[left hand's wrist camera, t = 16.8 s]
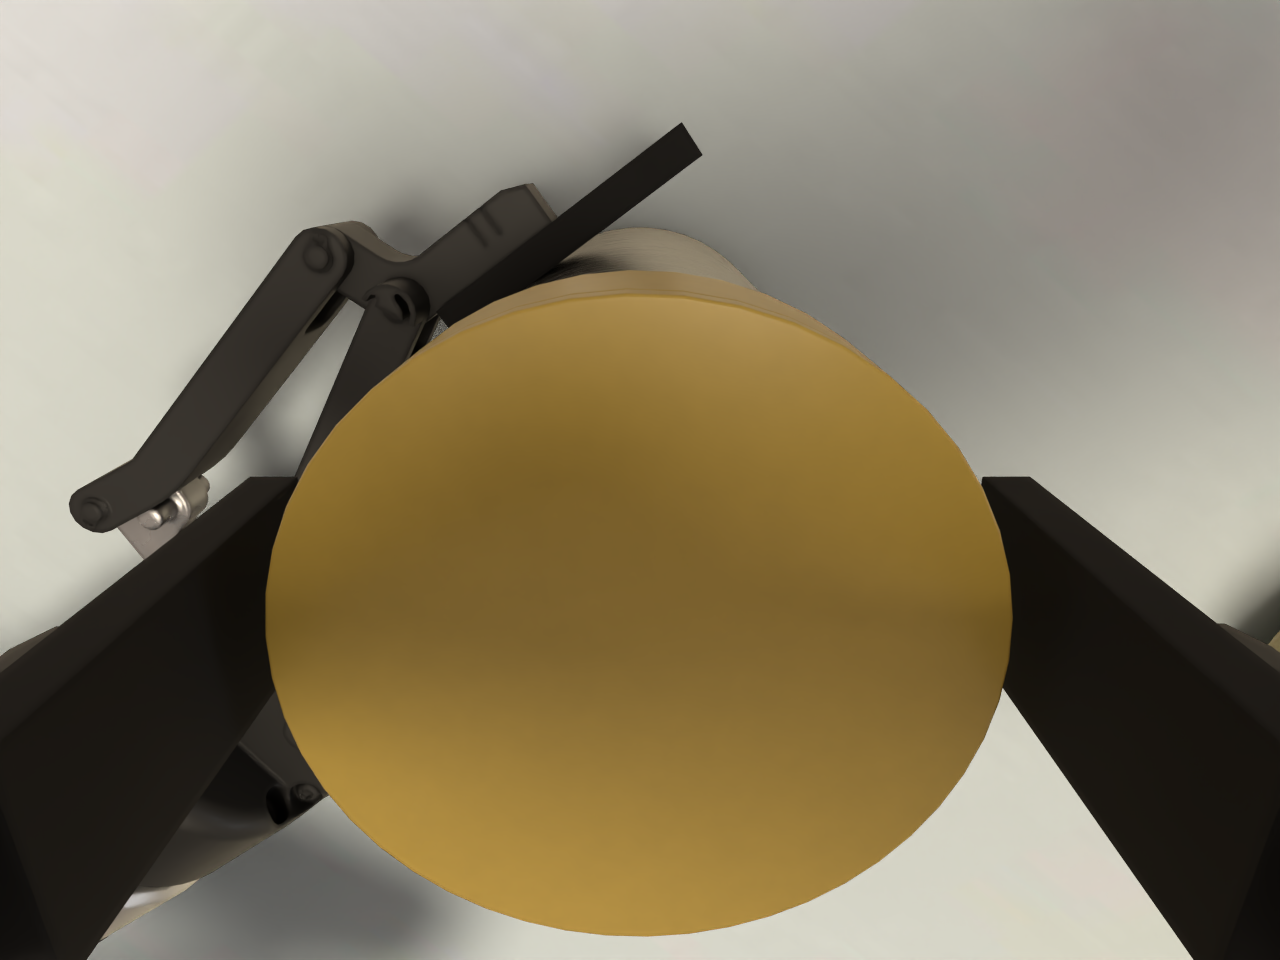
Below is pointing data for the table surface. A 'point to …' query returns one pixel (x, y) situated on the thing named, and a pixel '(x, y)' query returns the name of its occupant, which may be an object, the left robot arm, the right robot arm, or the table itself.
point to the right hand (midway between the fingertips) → (799, 316)
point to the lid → (638, 608)
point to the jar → (645, 256)
